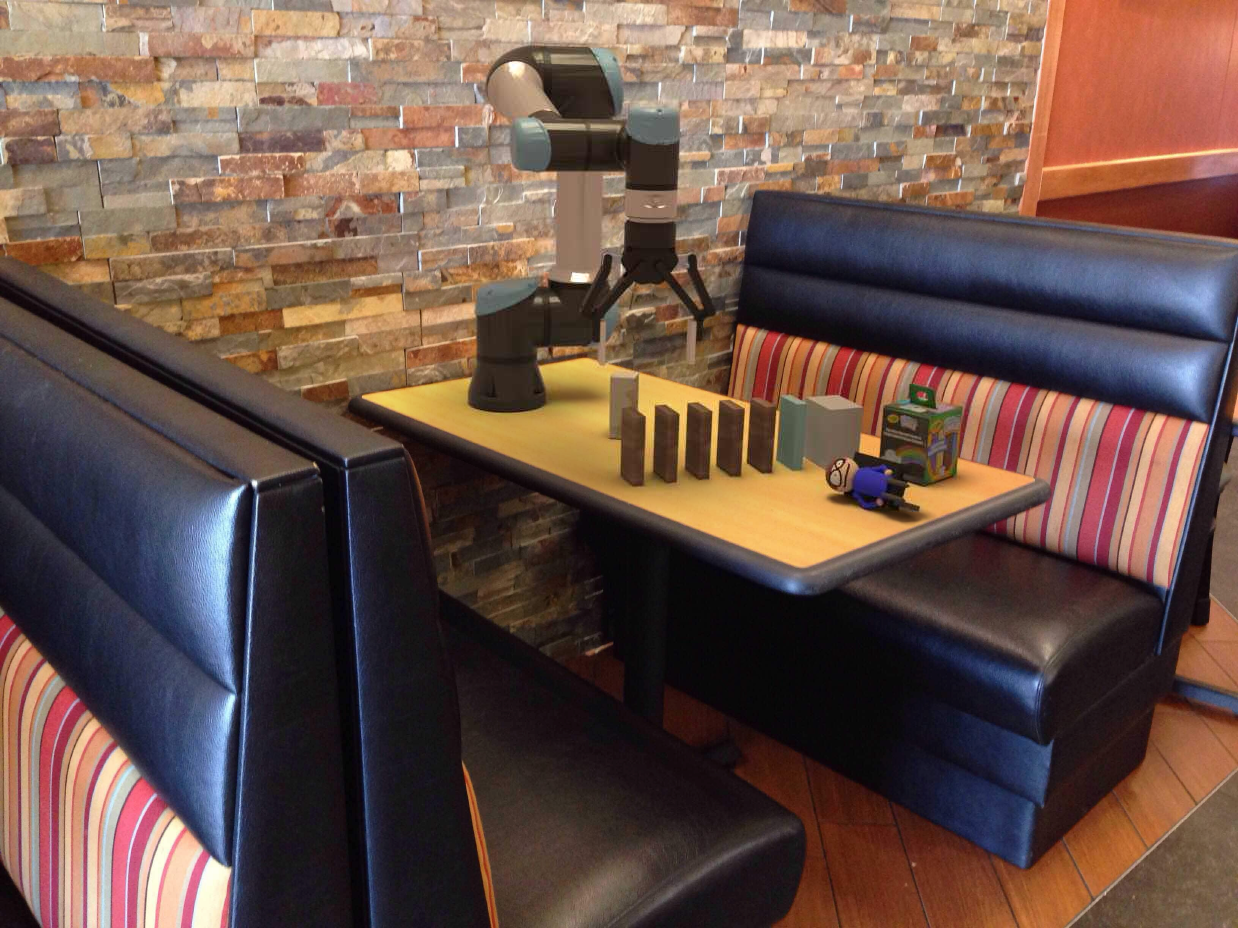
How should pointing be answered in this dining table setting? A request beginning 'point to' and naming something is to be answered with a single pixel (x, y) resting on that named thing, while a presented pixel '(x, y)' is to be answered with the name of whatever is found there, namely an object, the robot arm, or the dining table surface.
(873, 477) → the character figurine
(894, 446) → the chalk box
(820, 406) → the end block
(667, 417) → the tile
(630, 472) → the tile
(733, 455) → the tile
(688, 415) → the tile
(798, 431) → the tile
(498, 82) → the robot arm
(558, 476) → the dining table surface
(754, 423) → the tile
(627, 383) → the box
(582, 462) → the dining table surface
